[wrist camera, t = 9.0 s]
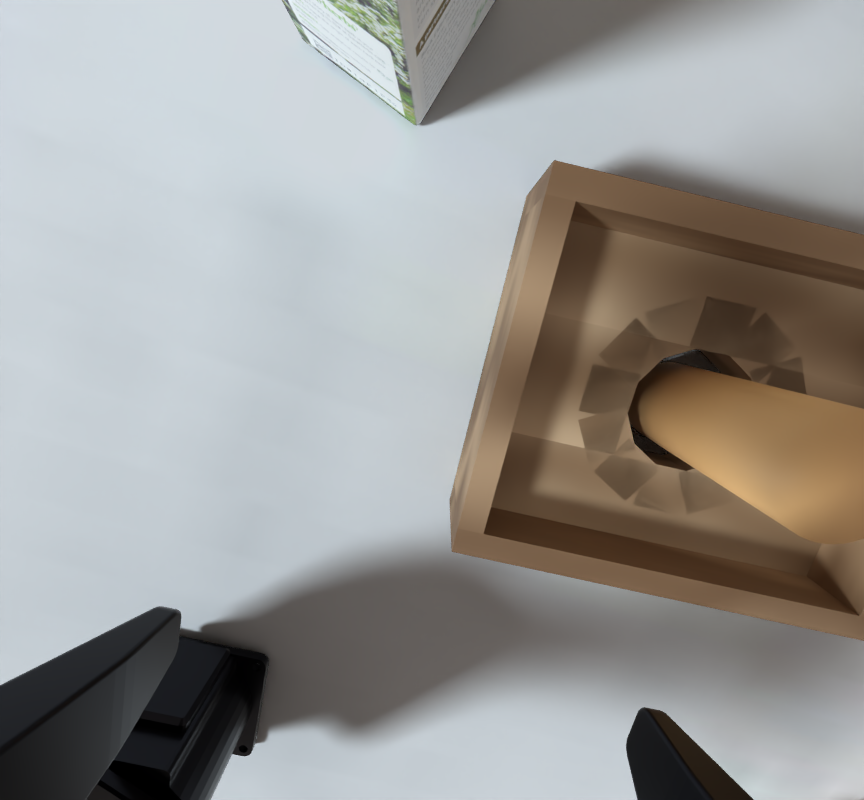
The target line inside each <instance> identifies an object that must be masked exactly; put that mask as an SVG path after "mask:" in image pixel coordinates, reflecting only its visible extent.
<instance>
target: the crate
mask: <svg viewBox="0 0 864 800" xmlns="http://www.w3.org/2000/svg"><path fill="white" fill-rule="evenodd" d="M693 349H695V350H700V351H701V352H702V353H703V354H704V355H705V356H706V357H707V358H708V359H709V360H710V361H711V362H712V363H713V364H714V365H715V366H716V368H717V369H718V370H719V371H720V373H721V374H725V375H729V376H733V377H737V378H741V379H745V380H749V381H753V382H757V383H761V384H765V385H769V386H773V387H777V388H781V389H785V390H789V391H794V392H798V393H802V394H806V395H810V396H814V397H818V398H822V399H826V400H830V401H834V402H838V403H842V404H846V405H850V406H854V407H858V408H862V409H864V235H862V234H858V233H854V232H850V231H845V230H841V229H837V228H833V227H829V226H825V225H820V224H816V223H812V222H808V221H804V220H800V219H796V218H791V217H787V216H783V215H779V214H775V213H771V212H767V211H762V210H758V209H754V208H750V207H746V206H742V205H738V204H733V203H729V202H725V201H721V200H717V199H713V198H709V197H704V196H700V195H696V194H692V193H688V192H684V191H680V190H675V189H671V188H667V187H663V186H659V185H655V184H651V183H646V182H642V181H638V180H634V179H630V178H626V177H622V176H617V175H613V174H609V173H605V172H601V171H597V170H592V169H588V168H584V167H580V166H576V165H572V164H568V163H563V162H559V161H555V160H554V161H553V162H552V164H551V165H550V166H549V168H548V169H547V170H546V172H545V173H544V174H543V175H542V177H541V178H540V179H539V181H538V182H537V183H536V184H535V186H534V187H533V188H532V190H531V191H530V192H529V194H528V195H527V197H526V201H525V205H524V209H523V213H522V216H521V220H520V224H519V228H518V232H517V236H516V240H515V244H514V248H513V252H512V256H511V260H510V264H509V268H508V272H507V276H506V280H505V284H504V287H503V291H502V295H501V299H500V303H499V307H498V311H497V315H496V319H495V323H494V327H493V331H492V335H491V339H490V343H489V347H488V351H487V355H486V359H485V362H484V366H483V370H482V374H481V378H480V382H479V386H478V390H477V394H476V398H475V402H474V406H473V410H472V414H471V418H470V422H469V426H468V430H467V433H466V437H465V441H464V445H463V449H462V453H461V457H460V461H459V465H458V469H457V473H456V477H455V481H454V485H453V489H452V493H451V497H450V521H451V547H452V552H456V553H461V554H465V555H470V556H474V557H479V558H484V559H488V560H493V561H498V562H502V563H507V564H511V565H516V566H521V567H525V568H530V569H535V570H539V571H544V572H548V573H553V574H558V575H562V576H567V577H572V578H576V579H581V580H585V581H590V582H595V583H599V584H604V585H609V586H613V587H618V588H622V589H627V590H632V591H636V592H641V593H646V594H650V595H655V596H659V597H664V598H669V599H673V600H678V601H683V602H687V603H692V604H696V605H701V606H706V607H710V608H715V609H719V610H724V611H729V612H733V613H738V614H743V615H747V616H752V617H756V618H761V619H766V620H770V621H775V622H780V623H784V624H789V625H793V626H798V627H803V628H807V629H812V630H817V631H821V632H826V633H830V634H835V635H840V636H844V637H849V638H854V639H858V640H863V641H864V538H863V539H861V540H857V541H854V542H849V543H844V544H822V543H816V542H813V541H809V540H807V539H804V538H802V537H800V536H798V535H797V534H795V533H794V532H792V531H790V530H789V529H787V528H786V527H784V526H783V525H781V524H780V523H778V522H777V521H775V520H773V519H772V518H770V517H769V516H767V515H766V514H764V513H763V512H761V511H760V510H758V509H757V508H755V507H753V506H752V505H750V504H749V503H747V502H746V501H744V500H743V499H741V498H740V497H738V496H736V495H735V494H733V493H732V492H730V491H729V490H727V489H726V488H724V487H723V486H721V485H719V484H718V483H716V482H715V481H713V480H712V479H710V478H709V477H707V476H706V475H704V474H703V473H701V472H699V471H698V470H696V469H695V468H693V467H692V466H690V465H689V464H687V463H686V462H684V461H682V460H681V459H679V458H678V457H676V456H675V455H673V454H672V453H668V454H664V455H661V454H656V453H652V452H647V451H643V450H641V449H639V448H638V447H637V446H636V445H635V444H634V440H633V436H632V431H631V427H630V422H629V418H628V411H629V408H630V405H631V402H632V399H633V396H634V393H635V390H636V387H637V384H638V382H639V381H640V380H641V379H642V378H643V377H644V376H645V375H646V374H648V373H649V372H650V371H651V370H652V369H653V368H654V367H655V366H656V365H657V364H658V363H659V362H660V361H661V360H662V359H663V358H666V357H670V356H673V355H676V354H680V353H683V352H687V351H690V350H693Z"/></svg>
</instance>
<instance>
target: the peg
mask: <svg viewBox="0 0 864 800" xmlns="http://www.w3.org/2000/svg"><path fill="white" fill-rule="evenodd" d="M628 418H629V422H630V423H631V425H632V426H633V427H634V428H635V429H636V430H637V431H638V432H639V433H641V434H642V435H644V436H645V437H647V438H649V439H650V440H652V441H653V442H655V443H656V444H658V445H659V446H661V447H662V448H664V449H665V450H667V451H669V452H670V453H672V454H673V455H675V456H676V457H678V458H679V459H681V460H682V461H684V462H686V463H687V464H689V465H690V466H692V467H693V468H695V469H696V470H698V471H699V472H701V473H703V474H704V475H706V476H707V477H709V478H710V479H712V480H713V481H715V482H716V483H718V484H719V485H721V486H723V487H724V488H726V489H727V490H729V491H730V492H732V493H733V494H735V495H736V496H738V497H740V498H741V499H743V500H744V501H746V502H747V503H749V504H750V505H752V506H753V507H755V508H757V509H758V510H760V511H761V512H763V513H764V514H766V515H767V516H769V517H770V518H772V519H773V520H775V521H777V522H778V523H780V524H781V525H783V526H784V527H786V528H787V529H789V530H790V531H792V532H794V533H795V534H797V535H798V536H800V537H802V538H804V539H807V540H809V541H813V542H816V543H822V544H844V543H849V542H854V541H857V540H861V539H863V538H864V409H862V408H858V407H854V406H850V405H846V404H842V403H838V402H834V401H830V400H826V399H822V398H818V397H814V396H810V395H806V394H802V393H798V392H794V391H789V390H785V389H781V388H777V387H773V386H769V385H765V384H761V383H757V382H753V381H749V380H745V379H741V378H737V377H733V376H729V375H725V374H721V373H717V372H712V371H708V370H704V369H700V368H696V367H692V366H688V365H684V364H680V363H674V362H666V363H660V364H657V365H656V366H655V367H654V368H653V369H652V370H651V371H650V372H649V373H648V374H646V375H645V376H644V377H643V378H642V379H641V380H640V381H639V382H638V384H637V387H636V390H635V393H634V396H633V399H632V402H631V405H630V408H629V411H628Z"/></svg>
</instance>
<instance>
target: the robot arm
mask: <svg viewBox="0 0 864 800" xmlns="http://www.w3.org/2000/svg"><path fill="white" fill-rule="evenodd" d="M180 624H181V612H180V611H179V610H177V609H172V608H167V607H162V606H159V607H156V608H153V609H151V610H149V611H147V612H145V613H143V614H141V615H139V616H137V617H135V618H133V619H131V620H129V621H127V622H125V623H123V624H121V625H119V626H117V627H115V628H113V629H111V630H109V631H107V632H105V633H103V634H101V635H99V636H98V637H96V638H94V639H92V640H90V641H88V642H86V643H84V644H82V645H80V646H78V647H76V648H74V649H72V650H70V651H68V652H66V653H64V654H62V655H60V656H58V657H56V658H54V659H52V660H50V661H48V662H46V663H44V664H42V665H40V666H38V667H36V668H34V669H32V670H30V671H28V672H26V673H24V674H22V675H20V676H18V677H16V678H14V679H12V680H10V681H8V682H6V683H4V684H2V685H0V800H211V798H212V796H213V793H214V791H215V789H216V787H217V785H218V783H219V781H220V778H221V776H222V774H223V772H224V770H225V768H226V766H227V764H228V761H229V759H230V757H231V755H232V754H235V755H240V756H248V755H250V754H251V752H252V750H253V748H254V745H255V742H256V736H257V730H258V724H259V718H260V712H261V706H262V700H263V694H264V688H265V682H266V677H267V671H268V665H269V660H268V658H267V656H265V655H264V654H261V653H257V652H252V651H248V650H243V649H238V648H233V647H228V646H224V645H219V644H214V643H209V642H204V641H199V640H195V639H190V638H185V637H180V636H179V633H180ZM256 663H258V664H260V665H258V664H256ZM626 750H627V757H628V761H629V765H630V770H631V774H632V778H633V783H634V787H635V791H636V795H637V800H753V799H752V798H751V797H750V796H749V795H748V794H747V793H746V792H745V791H744V790H743V789H742V788H741V787H740V786H739V785H738V784H737V783H736V782H735V781H734V780H733V779H732V778H731V777H730V776H729V775H728V774H727V773H726V772H725V771H724V770H723V769H722V768H721V767H720V766H719V765H718V764H717V763H716V762H715V761H714V760H713V759H712V758H711V757H710V756H709V755H708V754H707V753H706V752H705V751H704V750H703V749H701V748H700V747H699V746H698V745H697V744H696V743H695V742H694V741H693V740H692V739H691V738H690V737H689V736H688V735H687V734H686V733H685V732H684V731H683V730H682V729H681V728H680V727H679V726H678V725H677V724H676V723H675V722H674V721H673V720H672V719H671V718H670V717H669V716H668V715H667V714H666V713H664V712H662V711H660V710H655V709H650V708H645V707H644V708H641V709H640V710H639V711H638V713H637V716H636V718H635V720H634V723H633V725H632V728H631V730H630V733H629V735H628V738H627V743H626Z"/></svg>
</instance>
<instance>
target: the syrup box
mask: <svg viewBox="0 0 864 800" xmlns="http://www.w3.org/2000/svg"><path fill="white" fill-rule="evenodd" d="M282 1H283V3H284V5H285V7H286V9H287V11H288V13H289V15H290V17H291V18H292V20H293V22H294V24H295V26H296V27H297V29H298V31H299V33H300V35H301V37H302V39H303V40H304V41H305V42H306V43H308V44H309V45H310V46H311V47H313V48H314V49H315V50H317V51H318V52H319V53H321V54H322V55H323V56H325V57H326V58H328V59H329V60H330V61H331V62H333V63H334V64H335V65H337V66H338V67H339V68H341V69H342V70H343V71H345V72H346V73H347V74H349V75H350V76H351V77H352V78H354V79H355V80H357V81H358V82H359V83H361V84H362V85H363V86H365V87H366V88H367V89H368V90H370V91H371V92H372V93H373V94H375V95H376V96H378V97H379V98H380V99H382V100H383V101H384V102H385V103H387V104H388V105H389V106H390V107H392V108H393V109H394V110H396V111H397V112H398V113H399V114H401V115H402V116H403V117H405V118H406V119H407V120H409V121H410V122H411V123H413V124H414V125H419V124H420V123H421V121H422V120H423V118H424V117H425V115H426V113H427V112H428V110H429V108H430V107H431V105H432V103H433V102H434V100H435V98H436V97H437V95H438V93H439V92H440V90H441V88H442V87H443V85H444V83H445V82H446V80H447V79H448V77H449V75H450V74H451V72H452V70H453V69H454V67H455V65H456V64H457V62H458V60H459V59H460V57H461V55H462V54H463V52H464V51H465V49H466V47H467V46H468V44H469V42H470V41H471V39H472V38H473V36H474V34H475V33H476V31H477V29H478V28H479V26H480V25H481V23H482V21H483V20H484V18H485V16H486V15H487V13H488V11H489V10H490V8H491V7H492V5H493V3H494V2H495V0H282Z"/></svg>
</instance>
